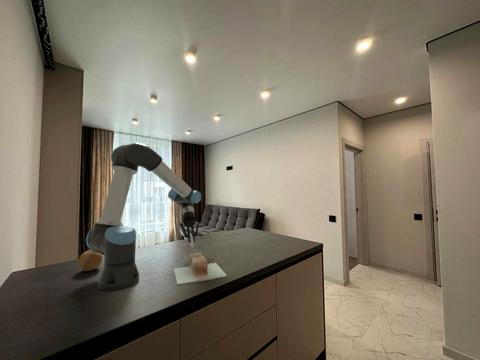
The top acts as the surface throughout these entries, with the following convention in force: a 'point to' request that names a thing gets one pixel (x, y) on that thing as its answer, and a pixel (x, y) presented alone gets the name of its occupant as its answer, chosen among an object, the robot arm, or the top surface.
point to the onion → (89, 260)
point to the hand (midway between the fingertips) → (192, 247)
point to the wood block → (198, 264)
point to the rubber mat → (187, 276)
